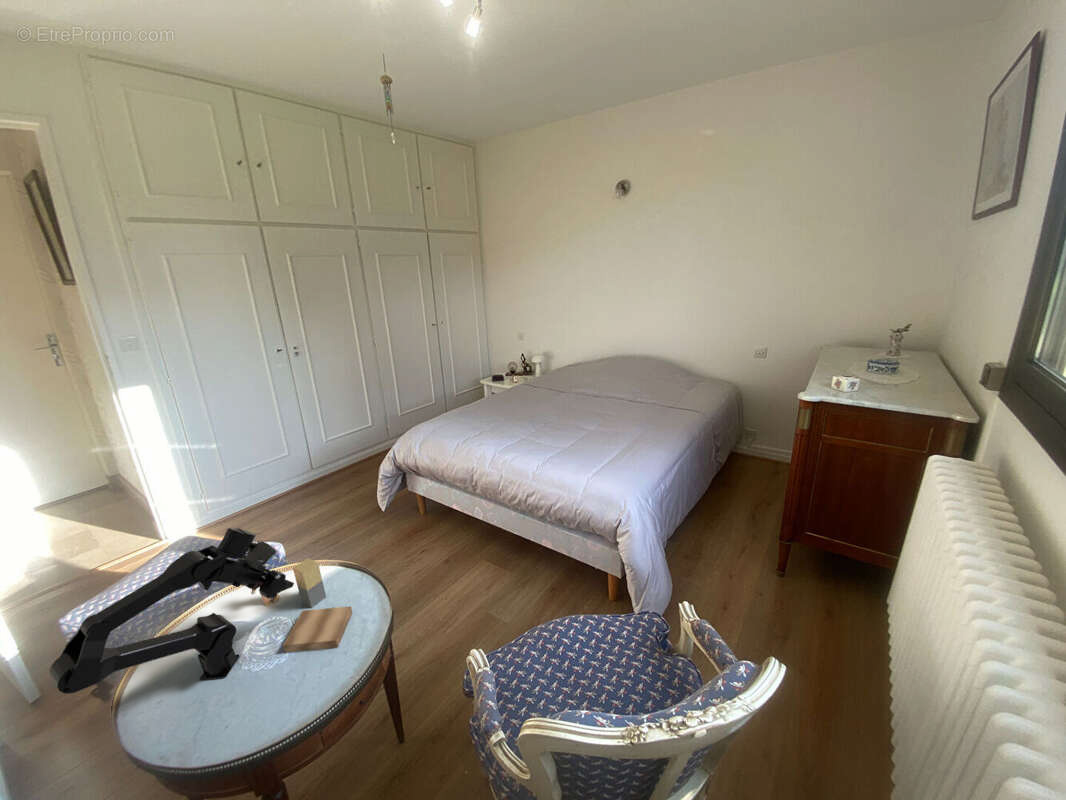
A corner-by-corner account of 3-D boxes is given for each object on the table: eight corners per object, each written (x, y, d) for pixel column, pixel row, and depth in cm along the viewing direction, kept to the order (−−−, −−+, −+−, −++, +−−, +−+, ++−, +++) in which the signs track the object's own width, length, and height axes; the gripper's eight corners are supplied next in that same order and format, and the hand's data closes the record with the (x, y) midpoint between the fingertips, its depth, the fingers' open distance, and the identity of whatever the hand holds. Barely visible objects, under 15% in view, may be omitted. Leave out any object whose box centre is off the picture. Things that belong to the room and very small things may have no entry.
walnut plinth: (285, 652, 115) (283, 645, 114) (304, 617, 127) (302, 610, 126) (338, 647, 116) (336, 640, 115) (352, 612, 127) (350, 606, 127)
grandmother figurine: (279, 591, 137) (270, 558, 133) (285, 596, 135) (275, 563, 131) (253, 606, 132) (243, 573, 128) (259, 612, 129) (248, 577, 125)
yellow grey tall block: (311, 608, 130) (302, 573, 126) (301, 602, 132) (292, 567, 128) (326, 597, 134) (318, 562, 130) (316, 591, 137) (308, 558, 132)
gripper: (269, 551, 110) (317, 561, 122) (231, 531, 119) (279, 543, 131) (245, 596, 106) (297, 601, 118) (208, 572, 115) (259, 580, 127)
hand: (283, 579), depth 124 cm, fingers open, 9 cm apart
